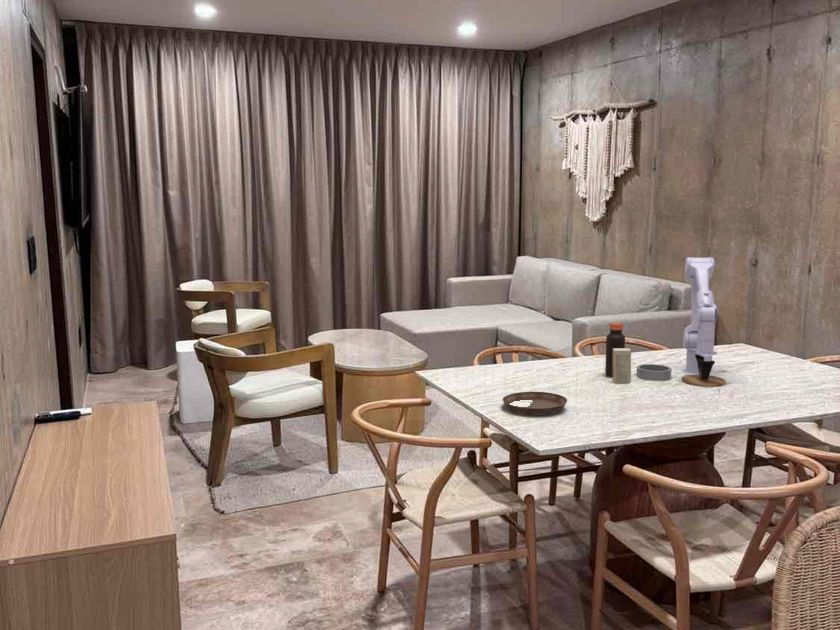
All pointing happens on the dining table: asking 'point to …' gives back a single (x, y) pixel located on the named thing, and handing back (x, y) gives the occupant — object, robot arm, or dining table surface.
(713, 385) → the lid
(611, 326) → the bottle
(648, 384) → the dining table surface
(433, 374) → the dining table surface
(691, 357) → the robot arm
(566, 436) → the dining table surface
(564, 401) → the plant saucer
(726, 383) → the mat
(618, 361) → the skincare box
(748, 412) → the dining table surface
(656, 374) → the bowl
